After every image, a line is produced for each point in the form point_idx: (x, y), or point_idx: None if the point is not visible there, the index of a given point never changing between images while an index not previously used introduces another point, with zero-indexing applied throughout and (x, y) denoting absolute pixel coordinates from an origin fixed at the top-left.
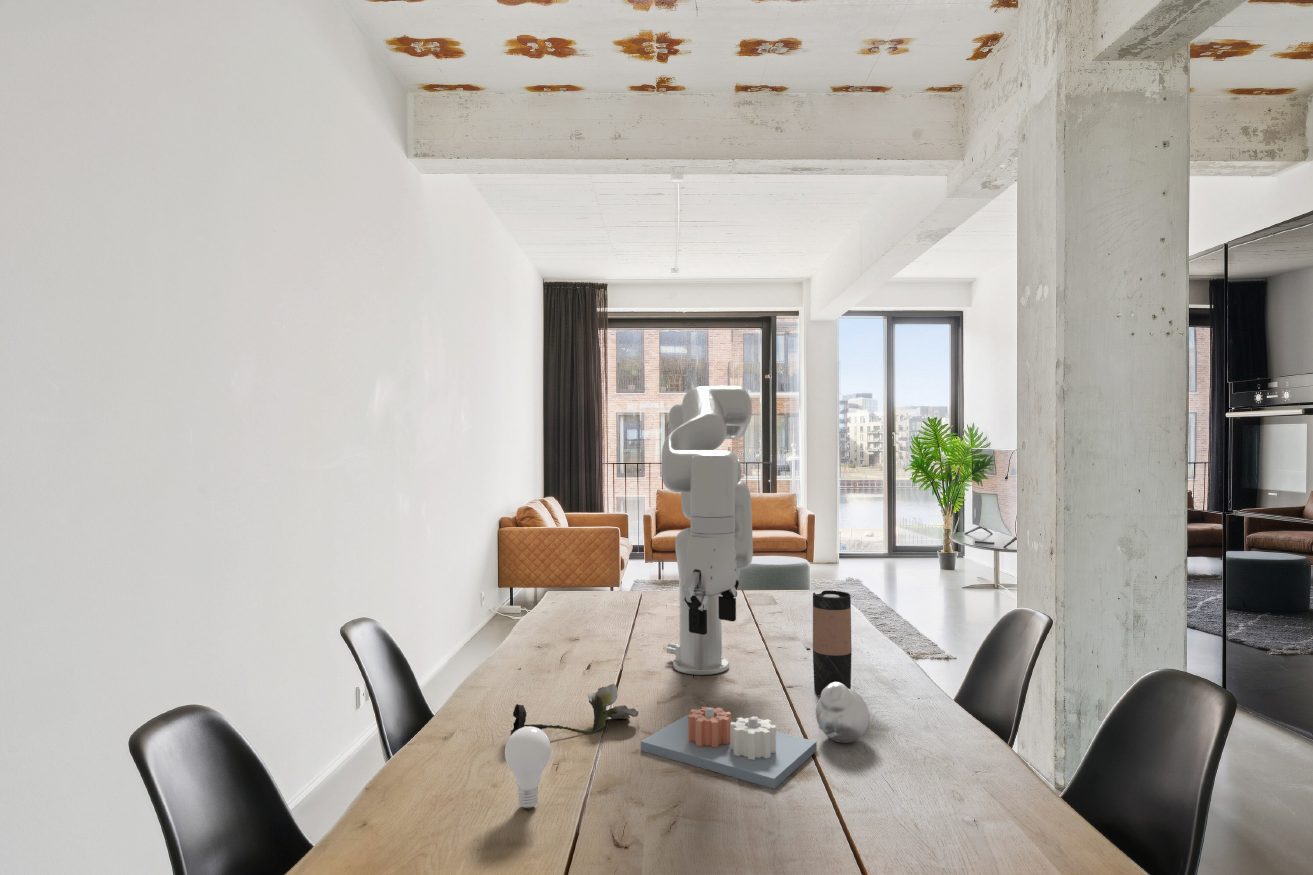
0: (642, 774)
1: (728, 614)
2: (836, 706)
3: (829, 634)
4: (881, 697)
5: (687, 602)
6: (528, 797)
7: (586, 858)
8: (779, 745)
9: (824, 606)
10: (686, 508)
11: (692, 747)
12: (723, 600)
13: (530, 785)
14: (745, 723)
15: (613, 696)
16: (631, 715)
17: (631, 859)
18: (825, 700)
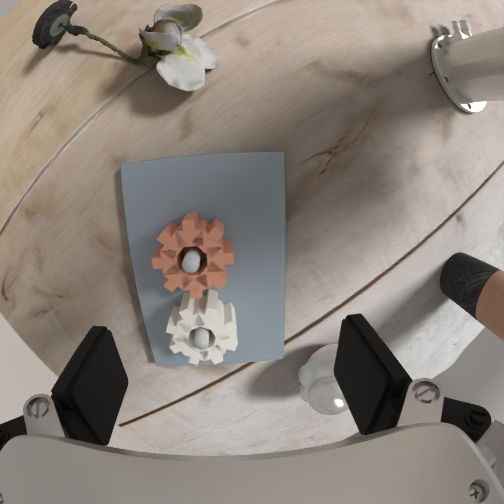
0: (76, 220)
1: (344, 371)
2: (308, 402)
3: (495, 322)
4: (452, 320)
5: (7, 429)
6: None
7: None
8: (242, 334)
9: None
10: None
11: (152, 244)
12: (372, 396)
13: None
14: (200, 326)
15: (164, 48)
16: (202, 74)
17: (4, 311)
18: (315, 392)
